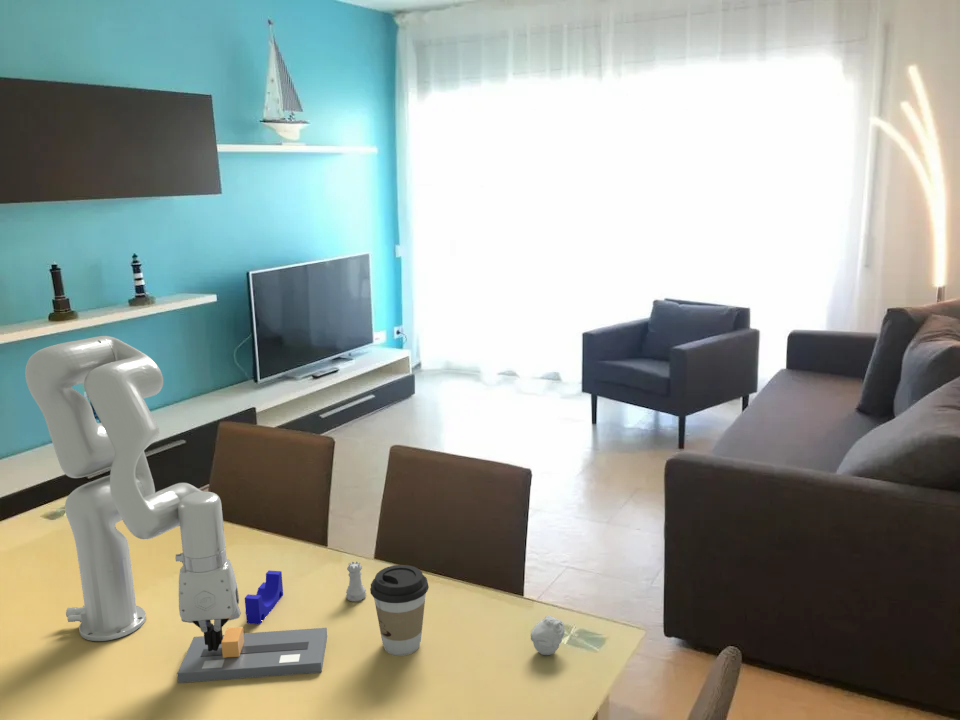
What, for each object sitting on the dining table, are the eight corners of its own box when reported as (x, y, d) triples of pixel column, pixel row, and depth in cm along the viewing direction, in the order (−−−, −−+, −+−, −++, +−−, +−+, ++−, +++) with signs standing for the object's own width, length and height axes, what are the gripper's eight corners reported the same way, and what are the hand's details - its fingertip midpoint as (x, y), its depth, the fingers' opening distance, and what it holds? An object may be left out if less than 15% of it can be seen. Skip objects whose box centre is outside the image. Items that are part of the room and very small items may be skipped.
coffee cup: (362, 642, 156) (358, 573, 153) (410, 623, 163) (408, 556, 159) (392, 669, 147) (388, 597, 144) (442, 647, 154) (439, 577, 151)
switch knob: (222, 657, 148) (221, 642, 147) (228, 642, 153) (227, 627, 152) (239, 656, 148) (237, 641, 147) (244, 641, 153) (242, 626, 152)
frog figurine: (571, 654, 151) (571, 621, 150) (542, 666, 147) (542, 632, 146) (552, 639, 156) (552, 607, 155) (523, 650, 152) (523, 618, 151)
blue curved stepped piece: (264, 594, 176) (262, 570, 174) (283, 595, 175) (281, 571, 174) (240, 623, 164) (237, 597, 163) (260, 625, 163) (258, 599, 162)
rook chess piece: (357, 604, 170) (355, 570, 169) (341, 599, 173) (339, 565, 171) (370, 595, 174) (368, 562, 172) (355, 590, 176) (353, 557, 175)
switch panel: (178, 682, 144) (177, 672, 144) (194, 645, 156) (193, 636, 156) (321, 672, 147) (320, 662, 146) (327, 636, 158) (326, 627, 158)
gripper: (157, 570, 142) (168, 661, 146) (242, 565, 143) (250, 655, 147) (169, 551, 149) (179, 638, 153) (250, 547, 150) (258, 633, 154)
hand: (214, 646), depth 150 cm, fingers closed
